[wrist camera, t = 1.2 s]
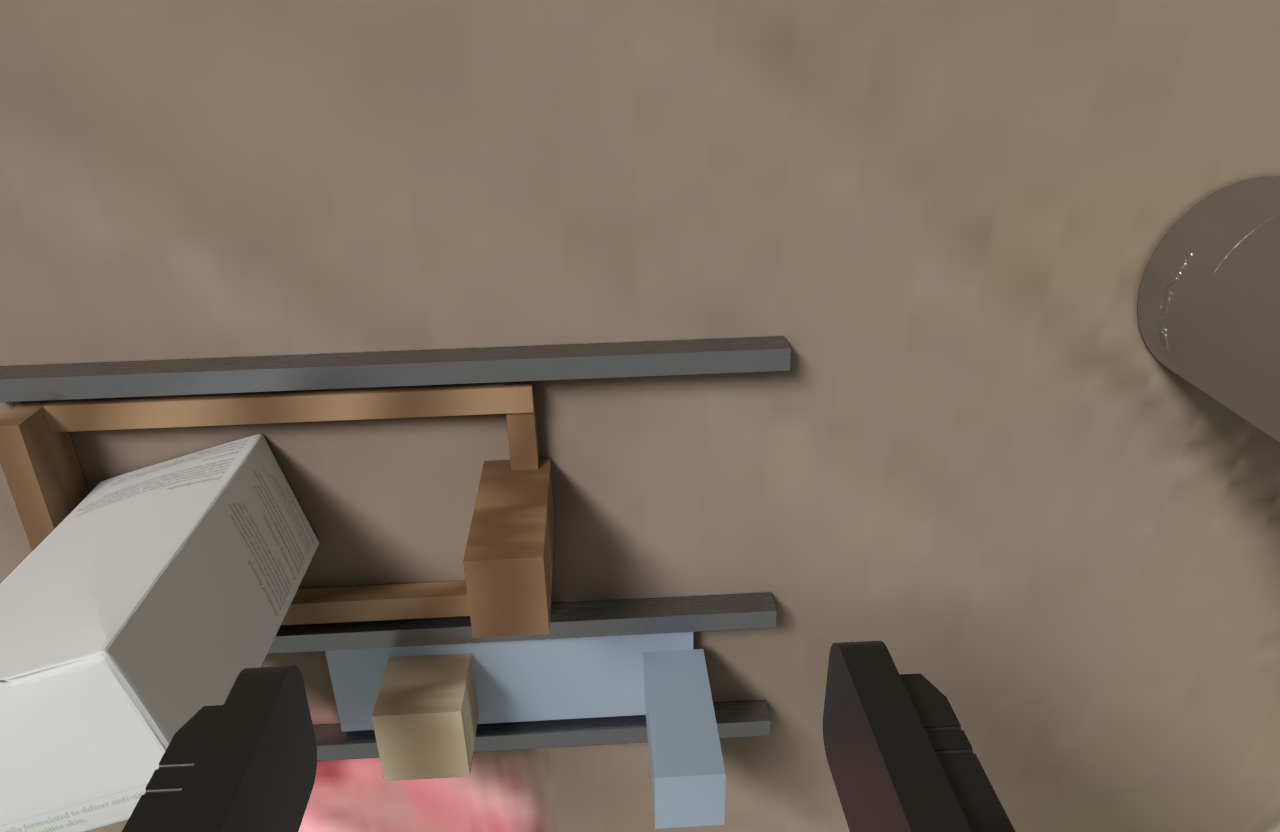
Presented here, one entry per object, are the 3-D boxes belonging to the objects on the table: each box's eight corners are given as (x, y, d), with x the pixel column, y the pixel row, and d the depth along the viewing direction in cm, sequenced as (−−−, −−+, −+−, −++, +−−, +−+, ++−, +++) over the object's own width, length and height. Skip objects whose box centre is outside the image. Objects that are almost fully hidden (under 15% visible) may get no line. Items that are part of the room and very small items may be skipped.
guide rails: (784, 336, 40) (791, 348, 38) (765, 714, 49) (769, 735, 48) (-18, 367, 38) (-40, 380, 37) (118, 750, 48) (104, 773, 46)
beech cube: (470, 652, 45) (460, 711, 41) (478, 714, 47) (469, 776, 43) (388, 657, 45) (371, 716, 41) (399, 719, 46) (384, 781, 43)
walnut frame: (544, 375, 40) (535, 461, 33) (560, 596, 45) (555, 713, 38) (28, 396, 39) (-98, 489, 32) (103, 619, 44) (9, 743, 37)
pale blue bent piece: (701, 618, 46) (726, 754, 38) (700, 698, 48) (723, 842, 40) (329, 637, 45) (274, 780, 37) (346, 717, 48) (297, 868, 39)
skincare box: (164, 587, 44) (-36, 874, 29) (92, 470, 41) (-168, 727, 27) (329, 541, 43) (206, 812, 29) (267, 420, 40) (96, 656, 26)
